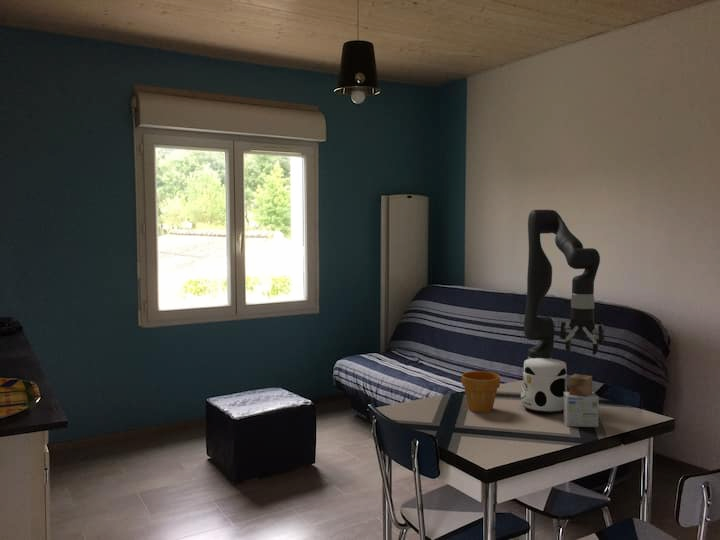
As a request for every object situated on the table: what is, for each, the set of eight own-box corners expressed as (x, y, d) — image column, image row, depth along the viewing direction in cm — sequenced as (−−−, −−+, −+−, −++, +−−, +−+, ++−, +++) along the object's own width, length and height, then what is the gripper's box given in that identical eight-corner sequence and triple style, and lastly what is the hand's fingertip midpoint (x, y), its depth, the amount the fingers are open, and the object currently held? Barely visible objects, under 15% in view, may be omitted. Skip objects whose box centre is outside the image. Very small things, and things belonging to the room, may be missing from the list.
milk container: (511, 405, 236) (511, 359, 234) (549, 401, 241) (550, 356, 240) (538, 418, 219) (539, 369, 218) (578, 413, 225) (579, 365, 224)
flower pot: (507, 410, 229) (508, 376, 229) (481, 417, 221) (481, 382, 221) (480, 401, 241) (480, 369, 240) (453, 408, 233) (453, 374, 232)
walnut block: (569, 394, 212) (569, 377, 211) (574, 390, 217) (574, 373, 216) (587, 396, 208) (587, 379, 208) (591, 393, 213) (592, 376, 213)
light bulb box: (593, 421, 216) (594, 391, 215) (599, 427, 209) (599, 396, 208) (562, 420, 217) (562, 390, 216) (566, 426, 210) (567, 396, 209)
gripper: (558, 306, 211) (557, 352, 212) (601, 309, 203) (600, 357, 204) (564, 303, 217) (564, 348, 218) (607, 306, 209) (605, 353, 210)
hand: (581, 352), depth 211 cm, fingers open, 8 cm apart
